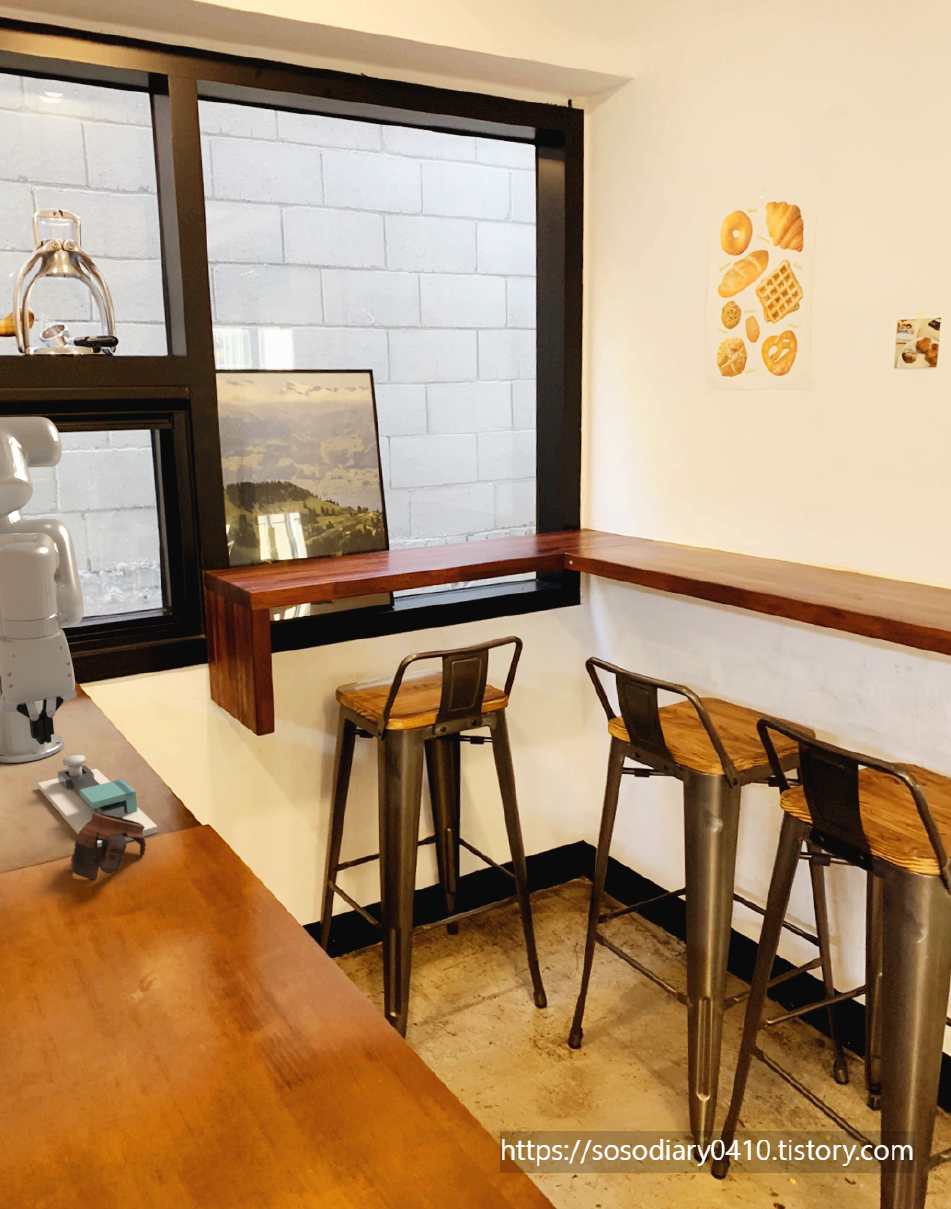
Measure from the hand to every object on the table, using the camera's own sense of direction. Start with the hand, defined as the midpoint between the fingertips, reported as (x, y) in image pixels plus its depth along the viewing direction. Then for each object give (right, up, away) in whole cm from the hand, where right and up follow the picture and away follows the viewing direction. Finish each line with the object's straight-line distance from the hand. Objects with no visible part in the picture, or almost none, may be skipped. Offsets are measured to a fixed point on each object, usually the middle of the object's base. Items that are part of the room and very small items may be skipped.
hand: (43, 740), depth 146 cm
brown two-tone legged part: (+16, -16, -14) cm, 26 cm away
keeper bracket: (+10, -11, +1) cm, 15 cm away
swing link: (+5, -10, +5) cm, 12 cm away
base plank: (+7, -11, +3) cm, 14 cm away
